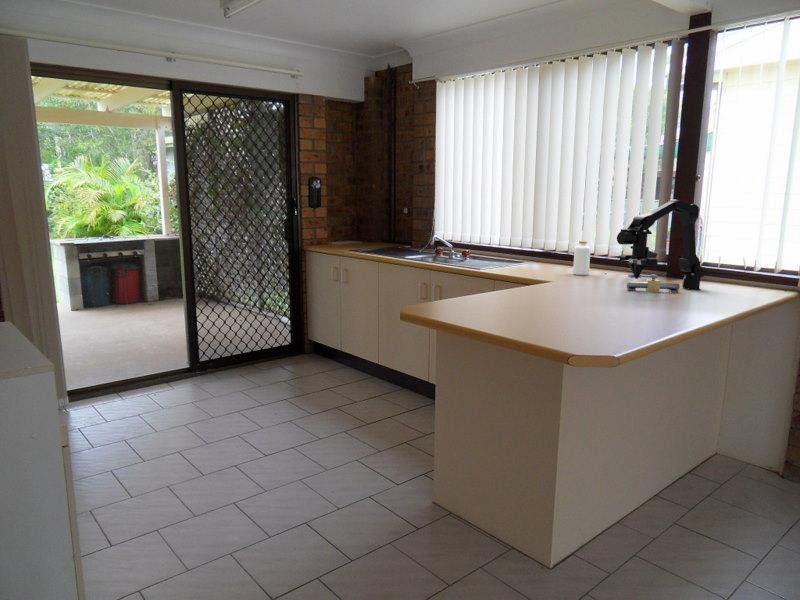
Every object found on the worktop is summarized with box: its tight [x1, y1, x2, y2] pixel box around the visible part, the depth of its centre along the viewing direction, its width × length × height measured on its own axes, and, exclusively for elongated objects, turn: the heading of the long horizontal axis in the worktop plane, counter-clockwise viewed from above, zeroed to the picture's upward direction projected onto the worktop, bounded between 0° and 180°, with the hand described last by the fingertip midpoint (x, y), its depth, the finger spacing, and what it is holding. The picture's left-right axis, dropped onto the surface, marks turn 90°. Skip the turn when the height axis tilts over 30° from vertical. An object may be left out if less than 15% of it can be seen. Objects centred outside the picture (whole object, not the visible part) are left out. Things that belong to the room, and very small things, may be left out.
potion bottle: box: [572, 240, 592, 276], centre depth 307 cm, size 8×8×18 cm
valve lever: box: [627, 273, 658, 279], centre depth 259 cm, size 12×3×1 cm, turn 88°
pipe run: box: [626, 278, 680, 294], centre depth 259 cm, size 22×5×6 cm, turn 76°
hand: (636, 278), depth 257 cm, fingers closed
